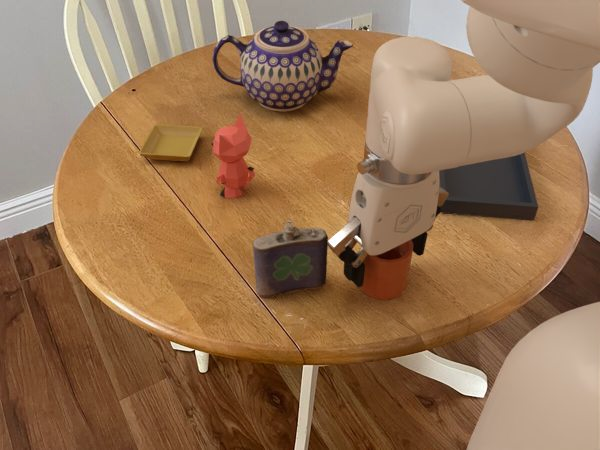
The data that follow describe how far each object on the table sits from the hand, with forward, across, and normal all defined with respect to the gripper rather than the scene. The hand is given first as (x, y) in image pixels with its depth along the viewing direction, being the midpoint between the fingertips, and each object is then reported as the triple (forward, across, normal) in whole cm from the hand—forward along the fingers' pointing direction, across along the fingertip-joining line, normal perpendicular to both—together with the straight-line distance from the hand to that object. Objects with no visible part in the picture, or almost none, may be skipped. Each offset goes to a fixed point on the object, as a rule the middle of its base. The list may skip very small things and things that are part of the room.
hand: (384, 263), depth 74 cm
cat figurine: (+4, -7, +27) cm, 28 cm away
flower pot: (+3, 0, 0) cm, 3 cm away
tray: (+3, +30, +13) cm, 33 cm away
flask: (+3, -10, +6) cm, 12 cm away
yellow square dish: (+4, -11, +42) cm, 43 cm away
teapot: (+4, +13, +46) cm, 48 cm away
